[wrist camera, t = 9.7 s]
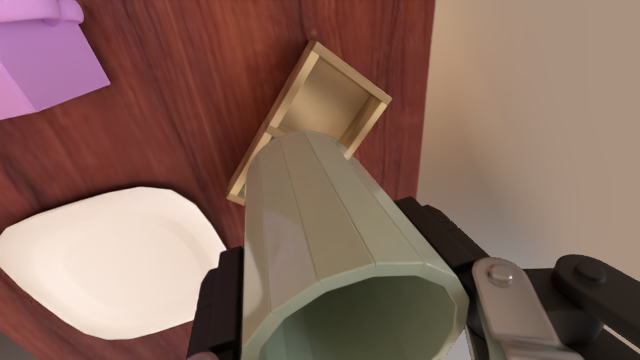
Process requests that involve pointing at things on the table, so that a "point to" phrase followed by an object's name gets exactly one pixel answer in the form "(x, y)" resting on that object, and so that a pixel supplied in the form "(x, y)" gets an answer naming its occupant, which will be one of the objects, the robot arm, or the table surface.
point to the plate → (115, 260)
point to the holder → (317, 107)
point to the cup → (337, 263)
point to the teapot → (44, 56)
